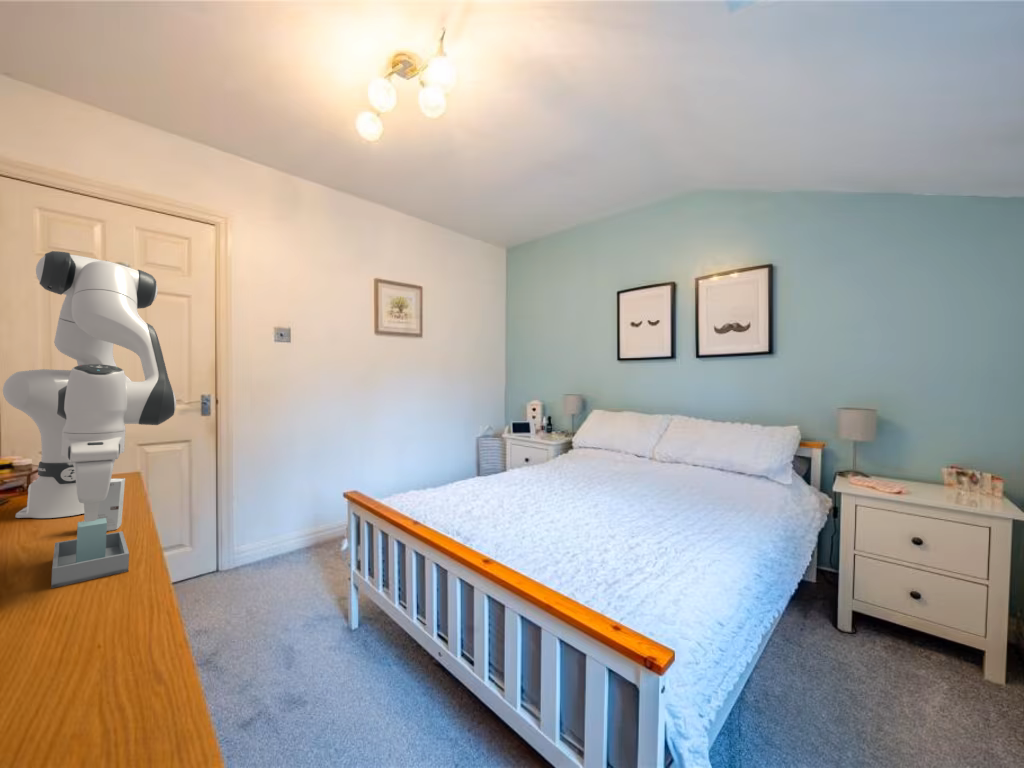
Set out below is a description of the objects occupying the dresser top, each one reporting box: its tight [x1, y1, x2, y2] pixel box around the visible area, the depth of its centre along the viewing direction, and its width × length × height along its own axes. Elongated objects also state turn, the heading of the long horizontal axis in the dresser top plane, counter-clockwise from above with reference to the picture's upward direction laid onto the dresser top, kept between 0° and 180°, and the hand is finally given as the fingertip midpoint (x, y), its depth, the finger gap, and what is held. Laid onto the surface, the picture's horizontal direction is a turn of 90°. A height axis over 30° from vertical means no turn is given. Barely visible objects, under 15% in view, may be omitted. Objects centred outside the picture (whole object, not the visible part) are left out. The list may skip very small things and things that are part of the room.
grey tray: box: [50, 530, 130, 589], centre depth 81 cm, size 16×10×4 cm, turn 47°
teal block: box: [76, 518, 108, 563], centre depth 81 cm, size 4×4×8 cm
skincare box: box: [97, 477, 126, 532], centre depth 100 cm, size 6×4×12 cm
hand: (90, 513), depth 81 cm, fingers open, 8 cm apart
